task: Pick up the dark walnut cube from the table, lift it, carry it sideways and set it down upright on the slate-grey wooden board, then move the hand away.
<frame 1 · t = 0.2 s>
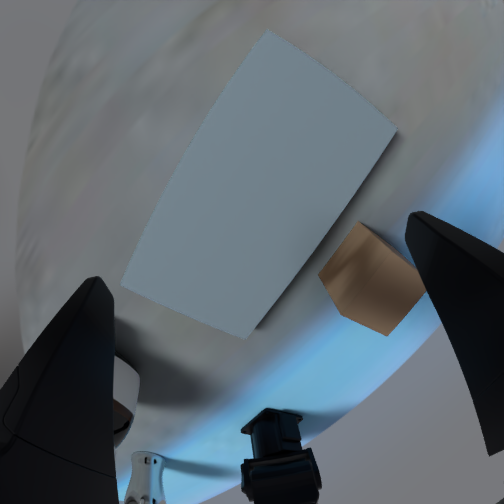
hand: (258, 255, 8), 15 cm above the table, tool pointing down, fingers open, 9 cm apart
slate board: (251, 196, 23), on the table
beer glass: (148, 457, 40), on the table
walnut cube: (360, 262, 27), on the table
spread jar: (94, 352, 29), on the table
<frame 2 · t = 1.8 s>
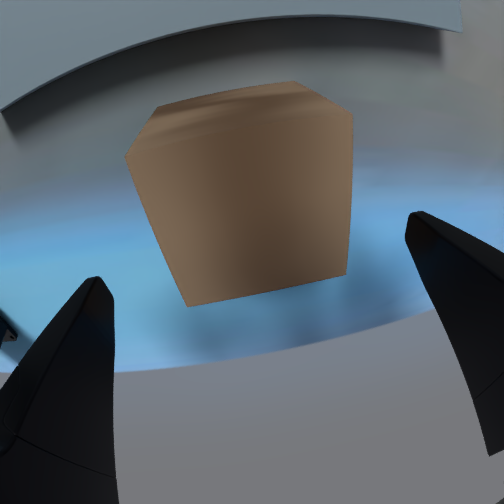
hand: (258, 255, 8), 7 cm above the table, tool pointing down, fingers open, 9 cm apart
walnut cube: (237, 151, 13), on the table
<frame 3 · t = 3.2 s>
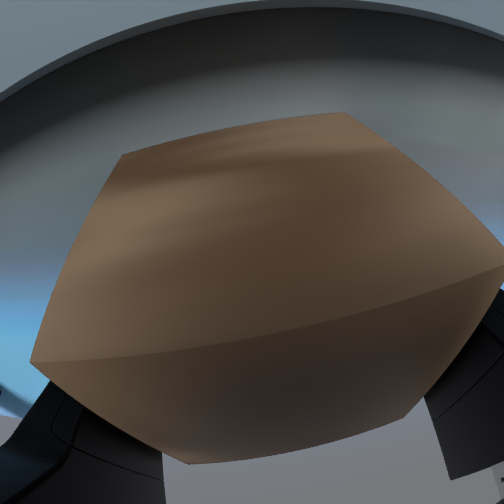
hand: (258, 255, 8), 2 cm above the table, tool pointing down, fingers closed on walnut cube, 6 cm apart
walnut cube: (250, 221, 9), on the table, touching gripper
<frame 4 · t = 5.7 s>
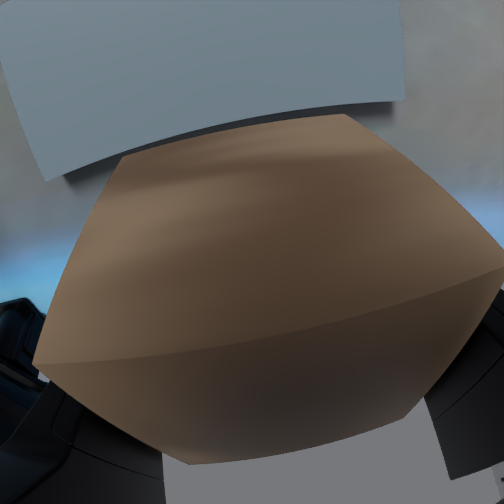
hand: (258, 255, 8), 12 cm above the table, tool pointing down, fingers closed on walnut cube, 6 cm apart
slate board: (197, 19, 12), on the table
walnut cube: (251, 222, 9), point 10 cm above the table, touching gripper
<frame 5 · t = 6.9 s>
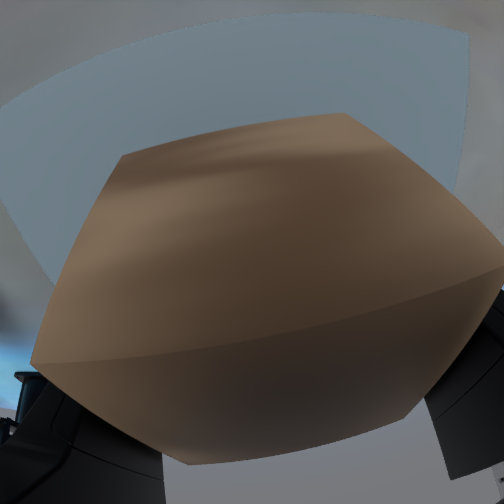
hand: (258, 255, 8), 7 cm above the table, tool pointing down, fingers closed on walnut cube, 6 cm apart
slate board: (237, 155, 13), on the table
walnut cube: (250, 222, 9), point 5 cm above the table, touching gripper
when the fingers open (5 cm above the table, at t = 8.1 s): walnut cube drops 1 cm, resting on slate board.
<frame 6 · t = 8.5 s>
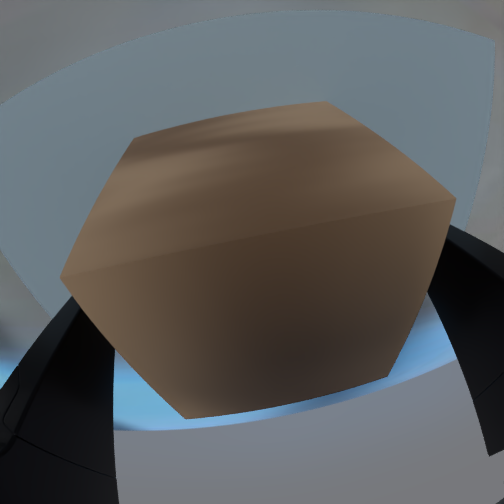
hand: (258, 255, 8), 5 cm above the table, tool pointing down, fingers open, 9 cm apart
slate board: (239, 172, 12), on the table
walnut cube: (245, 198, 10), point 2 cm above the table, touching slate board
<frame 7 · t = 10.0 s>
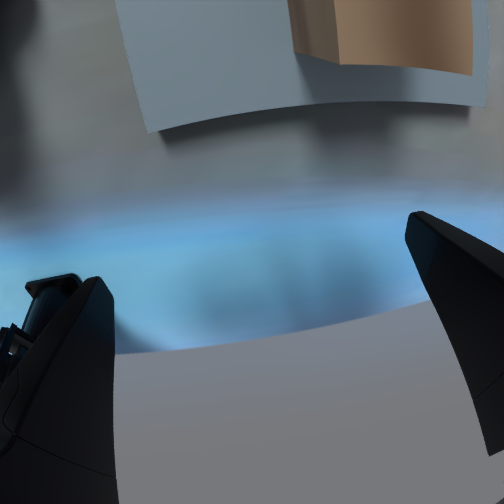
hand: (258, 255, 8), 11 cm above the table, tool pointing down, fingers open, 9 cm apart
slate board: (331, 1, 12), on the table
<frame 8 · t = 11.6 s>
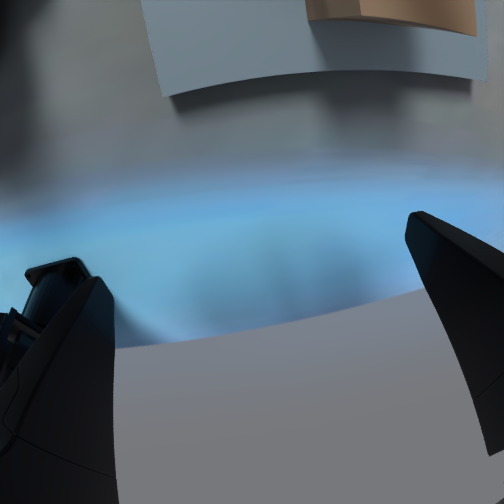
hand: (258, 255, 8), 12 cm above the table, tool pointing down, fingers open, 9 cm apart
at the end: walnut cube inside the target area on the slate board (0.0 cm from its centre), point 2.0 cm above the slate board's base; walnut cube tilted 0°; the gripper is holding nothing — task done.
